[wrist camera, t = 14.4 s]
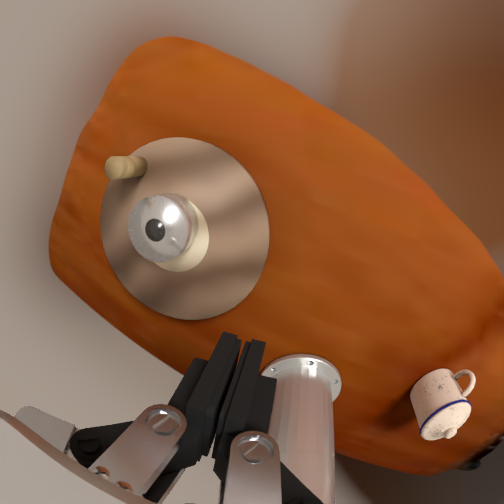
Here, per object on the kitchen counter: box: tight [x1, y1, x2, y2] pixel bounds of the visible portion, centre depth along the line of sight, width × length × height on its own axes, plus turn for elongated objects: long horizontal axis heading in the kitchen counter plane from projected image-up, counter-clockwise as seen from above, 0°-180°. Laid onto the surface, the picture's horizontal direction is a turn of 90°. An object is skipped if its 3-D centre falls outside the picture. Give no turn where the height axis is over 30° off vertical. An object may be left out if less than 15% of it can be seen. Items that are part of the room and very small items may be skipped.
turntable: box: [100, 137, 270, 320], centre depth 29 cm, size 22×22×6 cm
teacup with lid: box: [410, 369, 476, 440], centre depth 29 cm, size 12×9×12 cm
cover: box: [128, 193, 199, 263], centre depth 28 cm, size 7×7×4 cm
